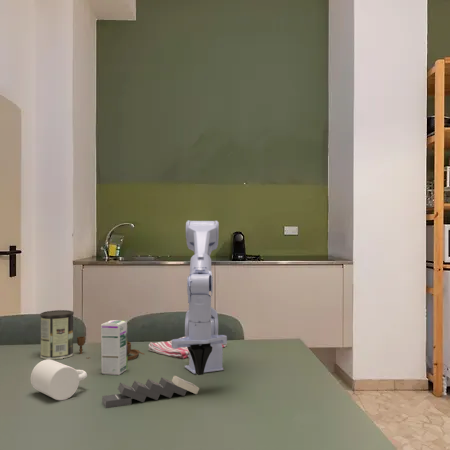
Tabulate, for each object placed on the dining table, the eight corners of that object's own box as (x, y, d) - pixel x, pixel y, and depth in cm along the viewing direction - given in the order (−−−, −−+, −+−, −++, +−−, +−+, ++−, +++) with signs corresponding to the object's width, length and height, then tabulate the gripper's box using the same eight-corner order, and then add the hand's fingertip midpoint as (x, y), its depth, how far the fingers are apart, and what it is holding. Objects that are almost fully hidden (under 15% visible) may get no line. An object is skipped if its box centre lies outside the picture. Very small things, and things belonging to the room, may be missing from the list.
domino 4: (168, 387, 123) (148, 378, 121) (173, 392, 120) (152, 383, 117) (165, 393, 123) (145, 384, 121) (170, 398, 119) (149, 389, 117)
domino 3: (155, 389, 122) (134, 380, 120) (160, 394, 118) (138, 385, 116) (152, 395, 121) (131, 386, 119) (157, 400, 118) (135, 391, 116)
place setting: (105, 367, 148) (105, 347, 148) (73, 355, 162) (73, 337, 162) (152, 357, 160) (152, 339, 160) (118, 346, 174) (118, 330, 174)
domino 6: (196, 394, 122) (176, 385, 120) (190, 389, 126) (171, 381, 124) (199, 388, 122) (179, 379, 120) (193, 383, 126) (174, 375, 124)
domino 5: (181, 385, 125) (161, 377, 122) (187, 390, 121) (166, 381, 119) (178, 391, 124) (158, 383, 122) (184, 396, 121) (163, 388, 118)
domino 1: (127, 392, 119) (102, 395, 116) (131, 397, 115) (105, 401, 113) (127, 399, 119) (102, 402, 116) (131, 404, 115) (105, 408, 112)
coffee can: (59, 350, 166) (59, 309, 167) (79, 354, 161) (80, 311, 161) (33, 356, 158) (33, 313, 158) (53, 361, 152) (54, 316, 152)
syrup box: (119, 375, 138) (120, 323, 138) (100, 374, 139) (100, 323, 139) (127, 369, 144) (128, 320, 144) (109, 368, 145) (109, 319, 145)
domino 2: (142, 391, 120) (120, 382, 118) (146, 396, 117) (124, 387, 114) (139, 397, 120) (117, 389, 118) (143, 402, 116) (121, 394, 114)
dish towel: (146, 352, 166) (146, 342, 166) (193, 341, 184) (193, 331, 184) (181, 361, 155) (182, 350, 155) (228, 348, 173) (228, 338, 173)
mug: (48, 404, 115) (49, 370, 115) (29, 394, 122) (30, 362, 122) (93, 392, 124) (94, 360, 124) (73, 383, 130) (74, 353, 131)
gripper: (178, 325, 118) (177, 381, 118) (232, 321, 124) (231, 374, 124) (169, 320, 125) (168, 374, 124) (220, 316, 131) (220, 367, 131)
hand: (199, 373), depth 125 cm, fingers closed
